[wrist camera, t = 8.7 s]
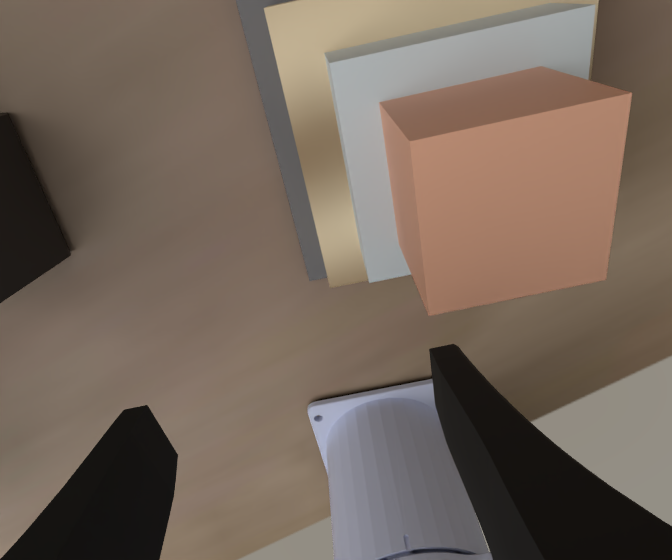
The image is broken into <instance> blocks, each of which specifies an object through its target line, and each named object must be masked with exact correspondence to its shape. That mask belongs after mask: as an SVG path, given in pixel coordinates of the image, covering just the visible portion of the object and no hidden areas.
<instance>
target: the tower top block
mask: <svg viewBox="0 0 672 560" xmlns="http://www.w3.org/2000/svg"><path fill="white" fill-rule="evenodd" d="M594 16H595V4H568V3H547V4H543V5H538V6H534V7H529V8H525V9H520V10H516V11H511V12H507V13H502V14H498V15H493V16H488V17H484V18H479V19H475V20H470V21H466V22H461V23H457V24H452V25H448V26H443V27H439V28H434V29H430V30H425V31H421V32H416V33H412V34H407V35H403V36H398V37H394V38H389V39H385V40H380V41H376V42H371V43H367V44H362V45H358V46H353V47H349V48H344V49H340V50H335V51H331V52H326V53H324V55H325V60H326V66H327V71H328V76H329V82H330V87H331V93H332V98H333V103H334V109H335V114H336V120H337V125H338V130H339V136H340V141H341V147H342V152H343V157H344V163H345V168H346V174H347V179H348V184H349V190H350V195H351V201H352V206H353V212H354V217H355V222H356V228H357V233H358V239H359V244H360V249H361V253H362V257H363V261H364V265H365V268H366V272H367V276H368V280H369V283H371V282H376V281H381V280H386V279H391V278H396V277H401V276H406V275H411V272H410V270H409V267H408V265H407V262H406V260H405V258H404V255H403V253H402V250H401V248H400V246H399V242H398V235H397V228H396V221H395V213H394V206H393V199H392V192H391V185H390V178H389V171H388V163H387V156H386V149H385V142H384V135H383V128H382V120H381V113H380V106H379V102H382V101H387V100H391V99H396V98H400V97H405V96H409V95H414V94H418V93H423V92H427V91H432V90H436V89H441V88H445V87H450V86H454V85H459V84H463V83H468V82H472V81H477V80H481V79H486V78H490V77H495V76H499V75H504V74H508V73H513V72H517V71H522V70H526V69H531V68H535V67H540V66H543V67H546V68H549V69H553V70H556V71H560V72H563V73H566V74H570V75H573V76H577V77H580V78H583V79H587V80H588V79H589V68H590V58H591V47H592V37H593V26H594Z"/></svg>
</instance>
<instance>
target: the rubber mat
mask: <svg viewBox="0 0 672 560" xmlns="http://www.w3.org/2000/svg"><path fill="white" fill-rule="evenodd" d="M289 1H293V0H236V3H237V7H238V11H239V14H240V18H241V22H242V26H243V30H244V33H245V37H246V41H247V45H248V49H249V52H250V56H251V60H252V64H253V68H254V71H255V75H256V79H257V83H258V87H259V90H260V94H261V98H262V102H263V106H264V109H265V113H266V117H267V121H268V125H269V128H270V132H271V136H272V140H273V144H274V147H275V151H276V155H277V159H278V162H279V166H280V170H281V174H282V178H283V181H284V185H285V189H286V193H287V197H288V200H289V204H290V208H291V212H292V216H293V219H294V223H295V227H296V231H297V235H298V238H299V242H300V246H301V250H302V254H303V257H304V261H305V265H306V269H307V273H308V276H309V280H310V281H312V280H317V279H322V278H327V273H326V269H325V264H324V260H323V256H322V252H321V248H320V243H319V239H318V235H317V231H316V226H315V222H314V218H313V214H312V210H311V205H310V201H309V197H308V193H307V189H306V184H305V180H304V176H303V172H302V168H301V163H300V159H299V155H298V151H297V146H296V142H295V138H294V134H293V130H292V125H291V121H290V117H289V113H288V109H287V104H286V100H285V96H284V92H283V88H282V83H281V79H280V75H279V71H278V66H277V62H276V58H275V54H274V50H273V45H272V41H271V37H270V33H269V29H268V24H267V20H266V16H265V12H264V8H265V7H267V6H271V5H275V4H280V3H284V2H289Z"/></svg>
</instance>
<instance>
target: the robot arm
mask: <svg viewBox="0 0 672 560" xmlns="http://www.w3.org/2000/svg"><path fill="white" fill-rule="evenodd" d="M429 350H430V360H431V370H432V379H428V380H423V381H418V382H413V383H408V384H403V385H398V386H393V387H387V388H382V389H377V390H372V391H367V392H362V393H357V394H351V395H346V396H341V397H336V398H331V399H326V400H321V401H316V402H312V403H310V404H309V405H308V415H309V418H310V422H311V425H312V428H313V431H314V434H315V437H316V440H317V443H318V446H319V449H320V452H321V455H322V458H323V462H324V465H325V468H326V471H327V474H328V479H329V493H330V507H331V521H332V534H333V549H334V560H672V526H670V525H669V524H667V523H665V522H664V521H662V520H661V519H659V518H658V517H656V516H655V515H653V514H652V513H650V512H649V511H647V510H645V509H644V508H643V507H641V506H640V505H638V504H637V503H635V502H633V501H632V500H631V499H629V498H628V497H626V496H625V495H623V494H622V493H620V492H618V491H617V490H615V489H614V488H613V487H611V486H609V485H608V484H607V483H606V482H604V481H603V480H601V479H600V478H598V477H597V476H596V475H594V474H593V473H592V472H590V471H589V470H588V469H586V468H585V467H584V466H582V465H581V464H580V463H579V462H577V461H576V460H575V459H573V458H572V457H571V456H569V455H568V454H567V453H566V452H564V451H563V450H562V449H561V448H560V447H558V446H557V445H556V444H554V443H553V442H552V441H551V440H550V439H549V438H548V437H546V436H545V435H544V434H543V433H542V432H541V431H539V430H538V429H537V428H536V427H535V426H534V425H533V424H532V423H530V422H529V421H528V420H527V419H526V418H525V417H524V416H523V415H522V414H521V413H520V412H518V411H517V410H516V409H515V408H514V407H513V406H512V405H511V404H510V403H509V402H508V401H507V400H506V399H505V398H504V397H503V396H502V395H501V394H500V393H499V392H498V391H497V390H496V389H495V388H494V387H493V386H492V385H491V384H490V383H489V382H488V381H487V380H486V378H485V377H484V376H483V375H482V374H481V373H480V372H479V371H478V370H477V369H476V367H475V366H474V365H473V364H472V363H471V362H470V361H469V359H468V358H467V357H466V356H465V355H464V353H463V352H462V351H461V350H460V348H459V347H458V346H456V345H455V344H451V345H446V346H441V347H436V348H431V349H429ZM317 415H321V416H317ZM177 458H178V454H177V453H176V451H175V450H174V448H173V446H172V445H171V443H170V441H169V440H168V438H167V436H166V435H165V433H164V432H163V430H162V428H161V427H160V425H159V423H158V422H157V420H156V419H155V417H154V415H153V414H152V412H151V410H150V409H149V407H148V406H147V405H145V406H140V407H135V408H130V409H125V410H123V412H122V413H121V414H120V415H119V416H118V418H117V419H116V420H115V421H114V423H113V424H112V425H111V426H110V428H109V429H108V430H107V432H106V433H105V434H104V435H103V437H102V438H101V439H100V441H99V442H98V443H97V445H96V446H95V447H94V448H93V450H92V451H91V452H90V454H89V455H88V456H87V457H86V459H85V460H84V461H83V463H82V464H81V465H80V466H79V468H78V469H77V470H76V471H75V473H74V474H73V475H72V476H71V478H70V479H69V480H68V482H67V483H66V484H65V485H64V487H63V488H62V489H61V490H60V492H59V493H58V494H57V495H56V496H55V497H54V499H53V500H52V501H51V502H50V503H49V504H48V506H47V507H46V508H45V509H44V510H43V512H42V513H41V514H40V515H39V516H38V517H37V519H36V520H35V521H34V522H33V523H32V525H31V526H30V527H29V528H28V529H27V530H26V532H25V533H24V534H23V535H22V536H21V537H20V538H19V539H18V541H17V542H16V543H15V544H14V545H13V546H12V547H11V548H10V549H9V550H8V551H7V553H6V554H5V555H4V556H3V557H2V558H1V559H0V560H159V559H160V554H161V550H162V546H163V541H164V537H165V533H166V529H167V524H168V520H169V515H170V511H171V506H172V502H173V497H174V490H175V481H176V470H177ZM475 513H476V514H475ZM476 515H477V517H476ZM477 518H478V519H477ZM478 520H479V522H480V525H481V527H482V530H483V533H484V535H485V538H486V541H487V543H488V546H489V549H490V552H489V551H488V548H487V545H486V542H485V540H484V537H483V534H482V531H481V528H480V525H479V522H478Z"/></svg>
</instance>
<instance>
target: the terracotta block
mask: <svg viewBox="0 0 672 560" xmlns="http://www.w3.org/2000/svg"><path fill="white" fill-rule="evenodd" d="M631 98H632V93H631V92H628V91H624V90H621V89H617V88H614V87H611V86H607V85H604V84H600V83H597V82H594V81H590V80H587V79H583V78H580V77H577V76H573V75H570V74H566V73H563V72H560V71H556V70H553V69H549V68H546V67H543V66H540V67H535V68H531V69H526V70H522V71H517V72H513V73H508V74H504V75H499V76H495V77H490V78H486V79H481V80H477V81H472V82H468V83H463V84H459V85H454V86H450V87H445V88H441V89H436V90H432V91H427V92H423V93H418V94H414V95H409V96H405V97H400V98H396V99H391V100H387V101H382V102H379V106H380V113H381V120H382V128H383V135H384V142H385V149H386V156H387V163H388V171H389V178H390V185H391V192H392V199H393V206H394V213H395V221H396V228H397V235H398V242H399V246H400V248H401V250H402V253H403V255H404V258H405V260H406V262H407V265H408V267H409V270H410V272H411V274H412V277H413V279H414V282H415V284H416V286H417V289H418V291H419V294H420V296H421V298H422V301H423V303H424V306H425V308H426V310H427V313H428V315H429V316H431V315H436V314H441V313H446V312H451V311H456V310H461V309H466V308H471V307H475V306H480V305H485V304H490V303H495V302H500V301H505V300H510V299H515V298H520V297H524V296H529V295H534V294H539V293H544V292H549V291H554V290H559V289H564V288H569V287H574V286H578V285H583V284H588V283H593V282H598V281H603V280H606V277H607V270H608V263H609V256H610V248H611V241H612V234H613V227H614V220H615V213H616V206H617V198H618V191H619V184H620V177H621V170H622V163H623V155H624V148H625V141H626V134H627V127H628V120H629V113H630V105H631Z"/></svg>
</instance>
